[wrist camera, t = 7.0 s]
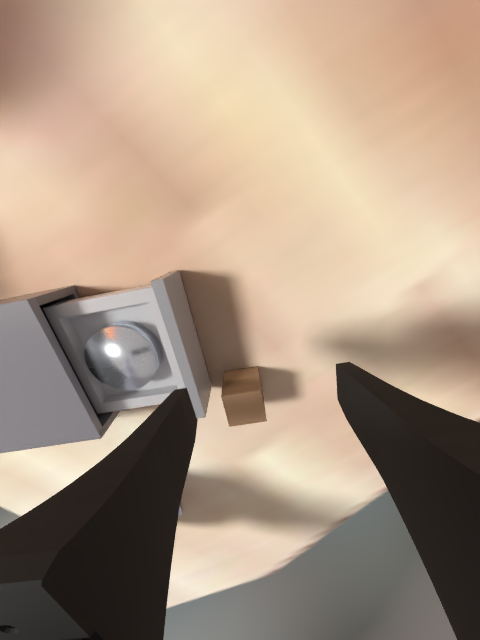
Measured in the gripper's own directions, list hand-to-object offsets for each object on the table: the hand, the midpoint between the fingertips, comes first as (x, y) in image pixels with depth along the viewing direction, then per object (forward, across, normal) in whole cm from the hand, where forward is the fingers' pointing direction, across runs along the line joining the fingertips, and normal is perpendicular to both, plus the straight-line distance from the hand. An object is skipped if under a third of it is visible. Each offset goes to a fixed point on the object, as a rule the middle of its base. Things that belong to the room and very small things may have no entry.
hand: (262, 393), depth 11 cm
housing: (+9, +19, 0) cm, 21 cm away
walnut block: (+9, +2, +6) cm, 11 cm away
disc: (+8, +11, 0) cm, 13 cm away
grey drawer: (+9, +11, 0) cm, 14 cm away
